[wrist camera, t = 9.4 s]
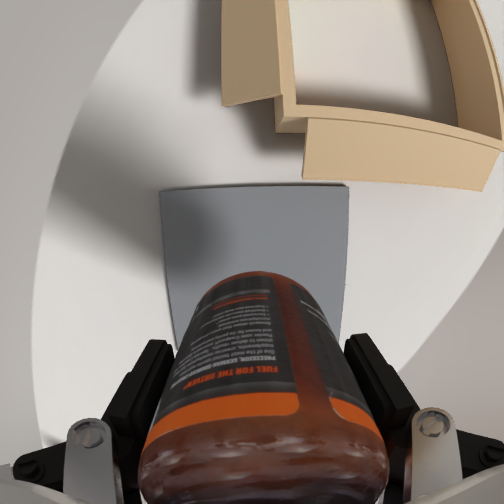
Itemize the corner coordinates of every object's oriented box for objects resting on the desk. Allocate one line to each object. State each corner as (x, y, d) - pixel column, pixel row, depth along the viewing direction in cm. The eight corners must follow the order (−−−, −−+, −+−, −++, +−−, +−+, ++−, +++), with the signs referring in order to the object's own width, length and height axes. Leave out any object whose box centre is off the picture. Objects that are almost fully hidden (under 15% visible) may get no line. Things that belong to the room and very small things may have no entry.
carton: (449, -12, 12) (476, -32, 7) (487, 192, 17) (529, 199, 12) (226, -54, 12) (222, -92, 7) (228, 180, 18) (219, 181, 13)
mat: (347, 186, 18) (348, 186, 17) (336, 347, 21) (337, 350, 20) (161, 191, 18) (159, 191, 17) (180, 352, 21) (179, 355, 20)
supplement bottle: (167, 328, 13) (63, 555, 2) (254, 236, 12) (265, 584, 1) (259, 395, 14) (265, 602, 3) (346, 323, 13) (463, 543, 2)
